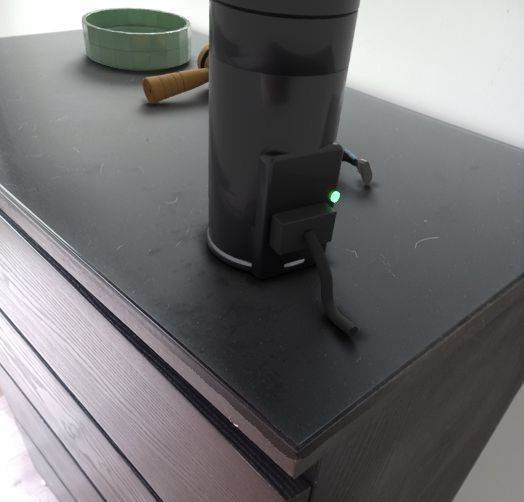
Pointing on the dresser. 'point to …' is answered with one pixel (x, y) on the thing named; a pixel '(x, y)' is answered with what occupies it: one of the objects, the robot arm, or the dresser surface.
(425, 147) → the dresser surface
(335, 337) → the dresser surface
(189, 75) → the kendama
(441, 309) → the dresser surface
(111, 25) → the bowl
